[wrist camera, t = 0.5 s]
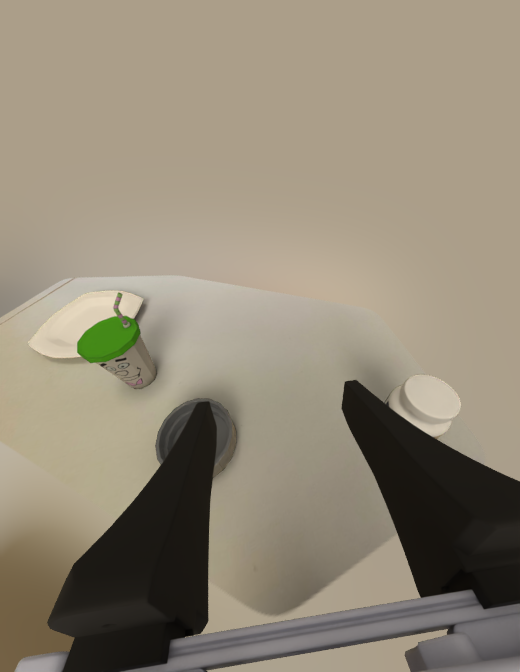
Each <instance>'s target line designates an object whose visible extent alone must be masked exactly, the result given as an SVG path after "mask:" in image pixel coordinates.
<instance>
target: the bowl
mask: <svg viewBox="0 0 520 672" xmlns="http://www.w3.org/2000/svg"><path fill="white" fill-rule="evenodd" d="M205 401H209V402H210V406H211V409H212V412H213V415H214V419H215V422H216V425H217V447H216V456H215V464H214V472H213V477H215V476H216V475H217V474H219V473H220V472H221V471H222V470H223V469H224V468H225V467H226V465H227V464H228V463H229V461H230V460H231V458H232V456H233V453H234V450H235V446H236V429H235V427H234V425H233V422H232V420H231V417H230V415H229V413H228V411H227V410H226V409H225V408H224V407H223V406H222V405H221V404H220V403H219V402H216V401H214V400H211V399H200V398H198V399H194V400H191V401H187V402H185V403H183V404H182V405H180V406H178V407H177V408H175V409H174V410H173V411H172V412H171V413H170V414H169V415H168V416H167V417H166V419H165V420H164V422H163V424H162V425H161V427H160V429H159V431H158V435H157V440H156V445H155V447H156V453H157V459H158V461H159V463H160V464H162V463H163V461H164V460H165V458H166V457H167V455H168V453H169V452H170V450H171V449H172V447H173V446H174V444H175V442H176V441H177V439H178V437H179V435H180V434H181V432H182V430H183V428H184V427H185V425H186V423H187V421H188V419H189V417H190V415H191V413H192V411H193V409H194V407H195V405H196V404H197V403H198V402H205Z"/></svg>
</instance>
